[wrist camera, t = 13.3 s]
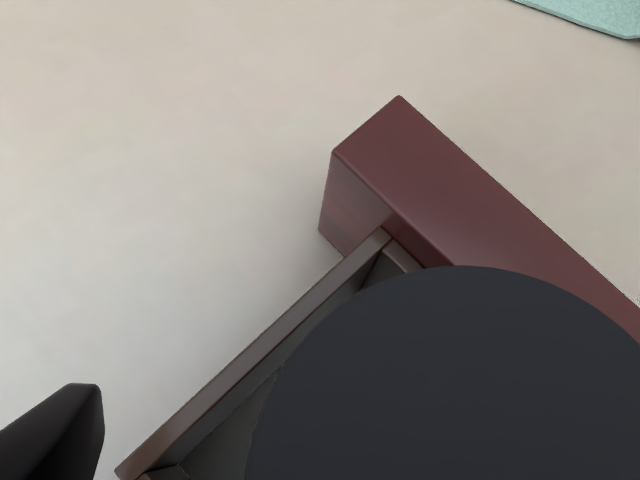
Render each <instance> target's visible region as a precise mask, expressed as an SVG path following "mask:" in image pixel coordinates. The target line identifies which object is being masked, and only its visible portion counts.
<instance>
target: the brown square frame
mask: <svg viewBox="0 0 640 480" xmlns="http://www.w3.org/2000/svg"><path fill="white" fill-rule="evenodd" d="M318 230H319V232H320V233H321V234H322V235H323V236H324V237H325V238H326V239H327V240H328V241H329V242H330V243H331V244H332V245H333V246H334V247H335V248H336V249H337V250H338V251H339V252H340V253H341V254H342V255H343V256H344V258H343V259H342V260H341V261H340V262H339V263H338V264H337V265H336V266H334V267H333V268H332V269H331V270H330V271H329V272H328V273H327V274H326V275H325V276H324V277H323V278H321V279H320V280H319V281H318V282H317V283H316V284H315V285H314V286H313V287H312V288H311V289H310V290H308V291H307V292H306V293H305V294H304V295H303V296H302V297H301V298H300V299H299V300H298V301H296V302H295V303H294V304H293V305H292V306H291V307H290V308H289V309H288V310H287V311H286V312H285V313H283V314H282V315H281V316H280V317H279V318H278V319H277V320H276V321H275V322H274V323H273V324H272V325H270V326H269V327H268V328H267V329H266V330H265V331H264V332H263V333H262V334H261V335H260V336H259V337H257V338H256V339H255V340H254V341H253V342H252V343H251V344H250V345H249V346H248V347H247V348H245V349H244V350H243V351H242V352H241V353H240V354H239V355H238V356H237V357H236V358H235V359H234V360H232V361H231V362H230V363H229V364H228V365H227V366H226V367H225V368H224V369H223V370H222V371H221V372H219V373H218V374H217V375H216V376H215V377H214V378H213V379H212V380H211V381H210V382H209V383H207V384H206V385H205V386H204V387H203V388H202V389H201V390H200V391H199V392H198V393H197V394H196V395H194V396H193V397H192V398H191V399H190V400H189V401H188V402H187V403H186V404H185V405H184V406H183V407H181V408H180V409H179V410H178V411H177V412H176V413H175V414H174V415H173V416H172V417H171V418H170V419H168V420H167V421H166V422H165V423H164V424H163V425H162V426H161V427H160V428H159V429H158V430H156V431H155V432H154V433H153V434H152V435H151V436H150V437H149V438H148V439H147V440H146V441H145V442H143V443H142V444H141V445H140V446H139V447H138V448H137V449H136V450H135V451H134V452H133V453H132V454H130V455H129V456H128V457H127V458H126V459H125V460H124V461H123V462H122V463H121V464H120V465H118V466H117V467H116V468H115V470H114V472H115V474H116V475H117V476H118V478H119V479H120V480H191V479H190V478H189V477H188V475H187V474H186V473H185V472H184V471H183V469H182V468H181V467H180V466H179V465H178V464H179V463H180V462H181V461H182V460H183V459H184V458H185V457H186V456H187V455H188V454H189V453H190V452H191V451H192V450H193V449H194V448H195V447H196V446H197V445H198V444H200V443H201V442H202V441H203V440H204V439H205V438H206V437H207V436H208V435H209V434H210V433H211V432H212V431H213V430H214V429H215V428H216V427H217V426H218V425H219V424H220V423H222V422H223V421H224V420H225V419H226V418H227V417H228V416H229V415H230V414H231V413H232V412H233V411H234V410H235V409H236V408H237V407H238V406H239V405H240V404H241V403H242V402H244V401H245V400H246V399H247V398H248V397H249V396H250V395H251V394H252V393H253V392H254V391H255V390H256V389H257V388H258V387H259V386H260V385H261V384H262V383H263V382H264V381H266V380H267V379H268V378H269V377H270V376H271V375H272V374H273V373H274V372H275V371H276V370H277V369H278V368H279V367H280V366H281V365H282V364H283V363H284V362H285V361H286V360H288V358H289V357H290V355H291V354H292V352H293V351H294V349H295V348H296V347H297V346H298V345H299V344H300V342H301V341H302V340H303V339H304V338H305V337H306V336H307V334H308V333H309V332H310V331H311V330H312V329H313V328H314V326H316V325H317V324H318V323H319V322H320V321H321V320H322V319H324V318H325V317H326V316H327V315H328V314H329V313H330V312H332V311H333V310H334V309H335V308H336V307H338V306H339V305H341V304H342V303H344V302H345V301H347V300H348V299H350V298H351V297H353V296H354V295H356V294H357V293H358V292H361V291H363V290H365V289H367V288H369V287H371V286H373V285H375V284H377V283H379V282H381V281H383V280H386V279H389V278H392V277H395V276H398V275H401V274H404V273H407V272H411V271H416V270H421V269H427V268H432V267H439V266H457V265H469V266H483V267H493V268H498V269H503V270H508V271H513V272H518V273H521V274H525V275H528V276H531V277H534V278H537V279H540V280H543V281H546V282H548V283H551V284H553V285H555V286H557V287H559V288H561V289H563V290H566V291H568V292H570V293H572V294H574V295H576V296H577V297H579V298H581V299H582V300H584V301H586V302H587V303H589V304H590V305H592V306H594V307H595V308H597V309H599V310H600V311H601V312H602V313H604V314H605V315H606V316H608V317H609V318H610V319H612V320H613V321H614V322H615V323H617V324H618V325H619V326H621V327H622V328H623V329H624V330H625V331H626V332H627V333H628V334H629V335H630V336H631V337H632V338H633V339H634V340H635V341H636V342H637V343H639V344H640V308H639V307H638V306H636V305H635V304H634V303H633V302H632V301H631V300H630V299H629V298H627V297H626V296H625V295H624V294H623V293H622V292H621V291H620V290H618V289H617V288H616V287H615V286H614V285H613V284H612V283H611V282H609V281H608V280H607V279H606V278H605V277H604V276H603V275H602V274H600V273H599V272H598V271H597V270H596V269H595V268H594V267H593V266H591V265H590V264H589V263H588V262H587V261H586V260H585V259H584V258H582V257H581V256H580V255H579V254H578V253H577V252H576V251H575V250H573V249H572V248H571V247H570V246H569V245H568V244H567V243H566V242H564V241H563V240H562V239H561V238H560V237H559V236H558V235H557V234H555V233H554V232H553V231H552V230H551V229H550V228H549V227H548V226H547V225H545V224H544V223H543V222H542V221H541V220H540V219H539V218H538V217H536V216H535V215H534V214H533V213H532V212H531V211H530V210H529V209H527V208H526V207H525V206H524V205H523V204H522V203H521V202H520V201H518V200H517V199H516V198H515V197H514V196H513V195H512V194H511V193H509V192H508V191H507V190H506V189H505V188H504V187H503V186H502V185H500V184H499V183H498V182H497V181H496V180H495V179H494V178H493V177H491V176H490V175H489V174H488V173H487V172H486V171H485V170H484V169H482V168H481V167H480V166H479V165H478V164H477V163H476V162H475V161H473V160H472V159H471V158H470V157H469V156H468V155H467V154H466V153H464V152H463V151H462V150H461V149H460V148H459V147H458V146H457V145H455V144H454V143H453V142H452V141H451V140H450V139H449V138H448V137H446V136H445V135H444V134H443V133H442V132H441V131H440V130H439V129H437V128H436V127H435V126H434V125H433V124H432V123H431V122H430V121H428V120H427V119H426V118H425V117H424V116H423V115H422V114H421V113H420V112H418V111H417V110H416V109H415V108H414V107H413V106H412V105H411V104H409V103H408V102H407V101H406V100H405V99H404V98H403V97H402V96H400V95H398V96H396V97H395V98H394V99H392V100H391V101H390V102H389V103H388V104H386V105H385V106H384V107H383V108H382V109H380V110H379V111H378V112H377V113H376V114H374V115H373V116H372V117H371V118H370V119H369V120H367V121H366V122H365V123H364V124H363V125H361V126H360V127H359V128H358V129H357V130H355V131H354V132H353V133H352V134H351V135H349V136H348V137H347V138H346V139H345V140H344V141H342V142H341V143H340V144H339V145H338V146H336V147H335V148H334V149H333V150H332V153H331V159H330V164H329V170H328V175H327V181H326V186H325V192H324V197H323V203H322V208H321V214H320V219H319V225H318Z"/></svg>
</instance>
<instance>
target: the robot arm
mask: <svg viewBox="0 0 640 480" xmlns="http://www.w3.org/2000/svg"><path fill="white" fill-rule="evenodd" d="M104 436H105V424H104V415H103V405H102V396H101V391H100V388H99V387H98V386H97V385H96V384H84V383H70V384H67V385H66V386H64V387H62V388H61V389H60V390H58V391H57V392H55V393H54V394H52V395H51V396H49V397H48V398H47V399H45V400H44V401H42V402H41V403H39V404H38V405H37V406H35V407H34V408H32V409H31V410H29V411H28V412H27V413H25V414H24V415H22V416H21V417H19V418H18V419H16V420H15V421H14V422H12V423H11V424H9V425H8V426H6V427H5V428H4V429H2V430H1V431H0V480H93V477H94V474H95V471H96V467H97V464H98V460H99V457H100V453H101V450H102V446H103V442H104Z"/></svg>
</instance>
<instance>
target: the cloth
mask: <svg viewBox="0 0 640 480" xmlns="http://www.w3.org/2000/svg"><path fill="white" fill-rule="evenodd" d="M514 1H517V2H519V3H522V4H525V5H528V6H530V7H533V8H536V9H539V10H542V11H545V12H547V13H550V14H553V15H556V16H559V17H561V18H564V19H566V20H569V21H571V22H574V23H576V24H579V25H582V26H585V27H588V28H591V29H594V30H598V31H601V32H604V33H607V34H610V35H613V36H617V37H620V38H623V39H632V38H640V0H514Z"/></svg>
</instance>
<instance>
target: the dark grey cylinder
mask: <svg viewBox="0 0 640 480" xmlns="http://www.w3.org/2000/svg"><path fill="white" fill-rule="evenodd" d="M244 480H640V344H639V343H637V342H636V341H635V340H634V339H633V338H632V337H631V336H630V335H629V334H628V333H627V332H626V331H625V330H624V329H623V328H622V327H621V326H619V325H618V324H617V323H615V322H614V321H613V320H612V319H610V318H609V317H608V316H606V315H605V314H604V313H602V312H601V311H600V310H599V309H597V308H595V307H594V306H592V305H590V304H589V303H587V302H586V301H584V300H582V299H581V298H579V297H577V296H576V295H574V294H572V293H570V292H568V291H566V290H563V289H561V288H559V287H557V286H555V285H553V284H551V283H548V282H546V281H543V280H540V279H537V278H534V277H531V276H528V275H525V274H521V273H518V272H513V271H508V270H503V269H498V268H493V267H483V266H469V265H457V266H439V267H432V268H427V269H421V270H416V271H411V272H407V273H404V274H401V275H398V276H395V277H392V278H389V279H386V280H383V281H381V282H379V283H377V284H375V285H373V286H371V287H369V288H367V289H365V290H363V291H361V292H359V293H357V294H356V295H354V296H353V297H351V298H350V299H348V300H347V301H345V302H344V303H342V304H341V305H339V306H338V307H336V308H335V309H334V310H333V311H332V312H330V313H329V314H328V315H327V316H326V317H325V318H324V319H322V320H321V321H320V322H319V323H318V324H317V325H316V326H314V328H313V329H312V330H311V331H310V332H309V333H308V334H307V336H306V337H305V338H304V339H303V340H302V341H301V342H300V344H299V345H298V346H297V347H296V348H295V349H294V351H293V352H292V354H291V355H290V357H289V358H288V360H287V361H286V363H285V364H284V366H283V367H282V369H281V370H280V372H279V373H278V375H277V377H276V379H275V381H274V383H273V385H272V387H271V389H270V391H269V393H268V395H267V397H266V399H265V401H264V403H263V406H262V409H261V412H260V415H259V417H258V420H257V423H256V426H255V429H254V432H253V435H252V440H251V444H250V449H249V454H248V458H247V463H246V468H245V479H244Z"/></svg>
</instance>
